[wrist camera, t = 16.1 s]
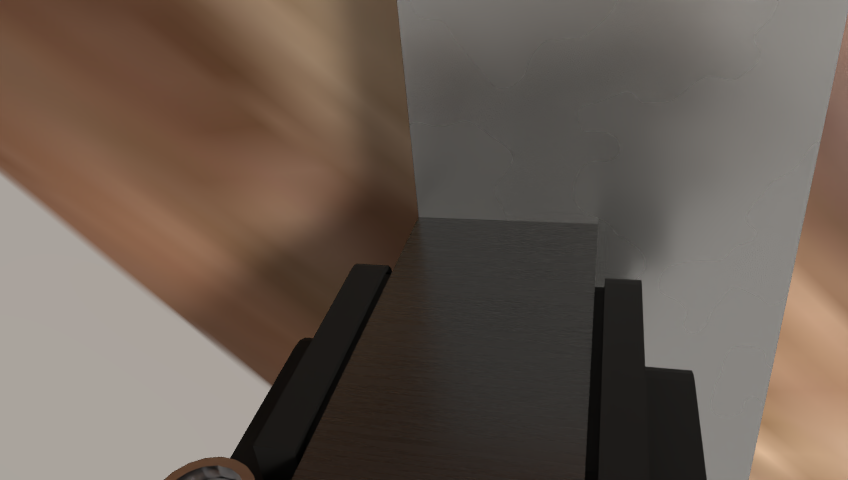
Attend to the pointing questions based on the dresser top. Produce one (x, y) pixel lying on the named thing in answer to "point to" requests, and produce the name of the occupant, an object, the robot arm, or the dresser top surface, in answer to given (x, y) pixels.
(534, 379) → the scraper
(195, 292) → the dresser top surface
